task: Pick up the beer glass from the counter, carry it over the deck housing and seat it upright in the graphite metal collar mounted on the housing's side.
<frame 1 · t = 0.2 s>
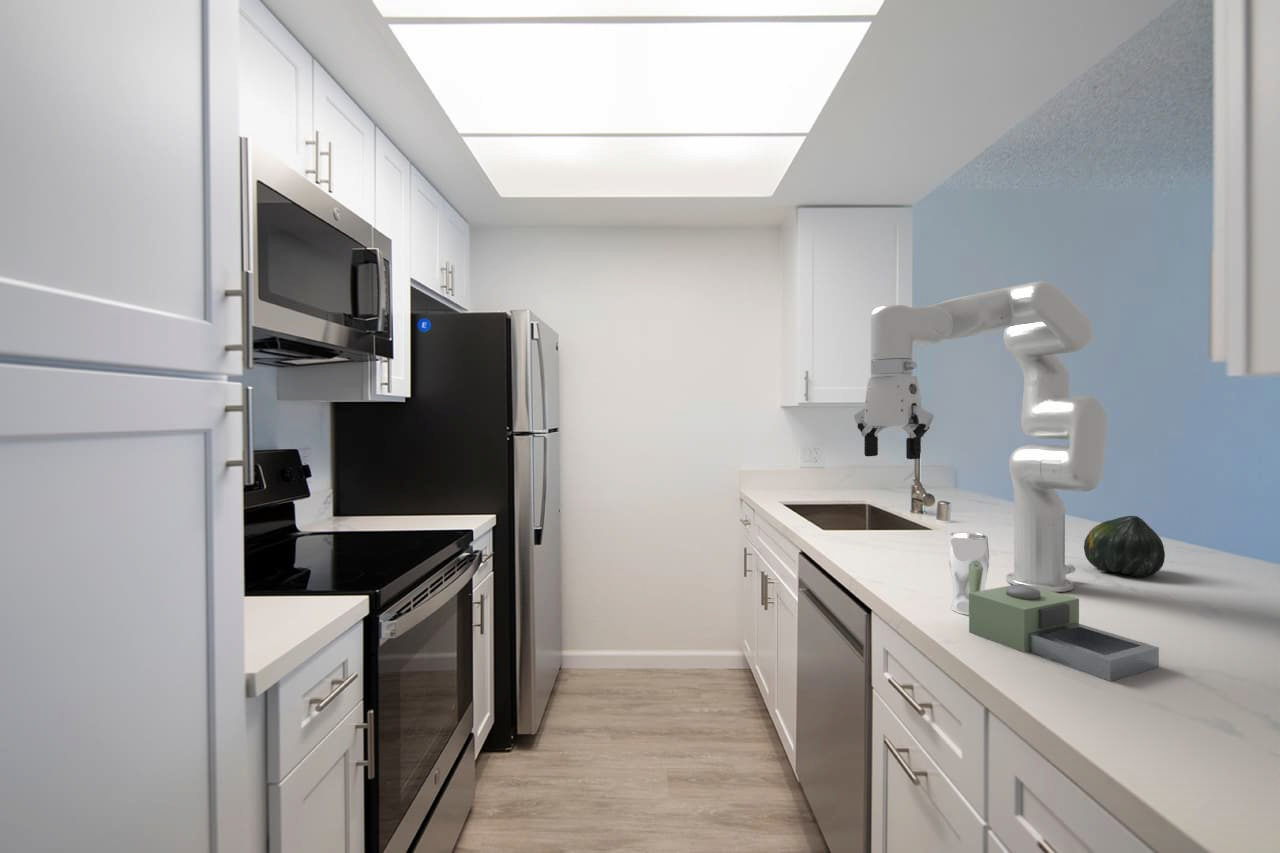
hand: (891, 457, 116), 31 cm above the worktop, tool pointing down, fingers open, 9 cm apart
chute collar: (1091, 658, 94), on the worktop
squash: (1124, 573, 143), on the worktop
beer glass: (968, 611, 117), on the worktop
deck housing: (1023, 635, 104), on the worktop
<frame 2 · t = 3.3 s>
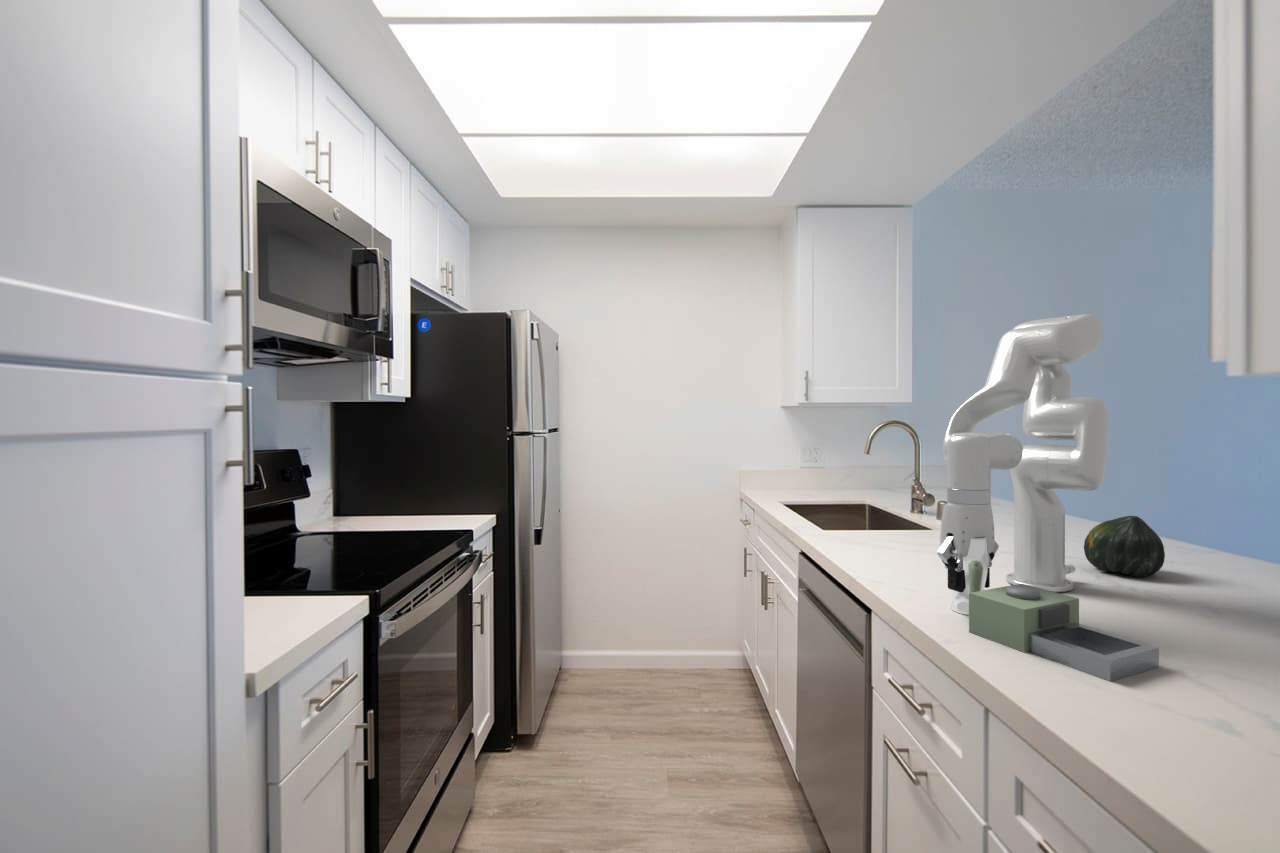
hand: (968, 587, 117), 5 cm above the worktop, tool pointing down, fingers closed on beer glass, 6 cm apart
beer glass: (968, 611, 117), on the worktop, touching gripper
everything else where it was.
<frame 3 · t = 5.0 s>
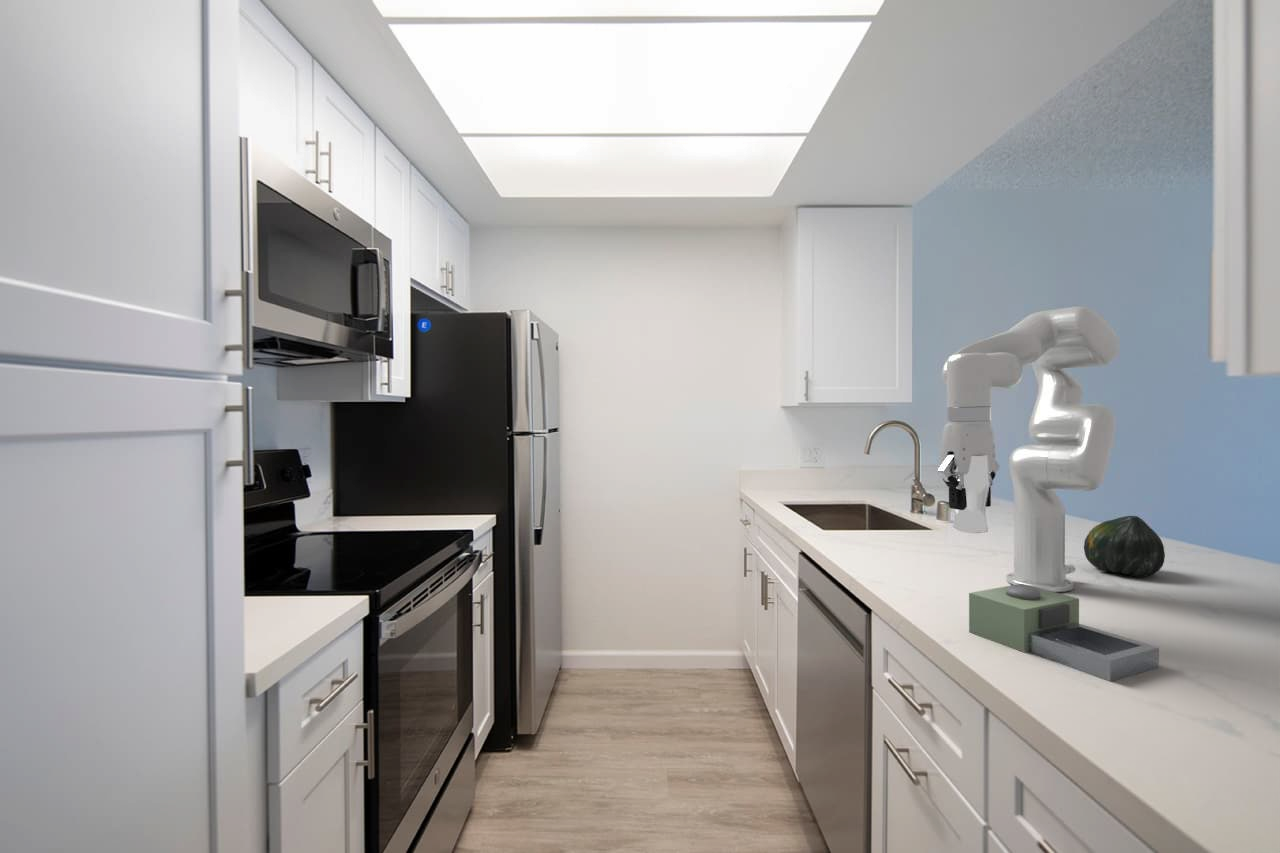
hand: (969, 506, 117), 21 cm above the worktop, tool pointing down, fingers closed on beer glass, 6 cm apart
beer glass: (970, 531, 117), point 16 cm above the worktop, touching gripper
everything else where it was.
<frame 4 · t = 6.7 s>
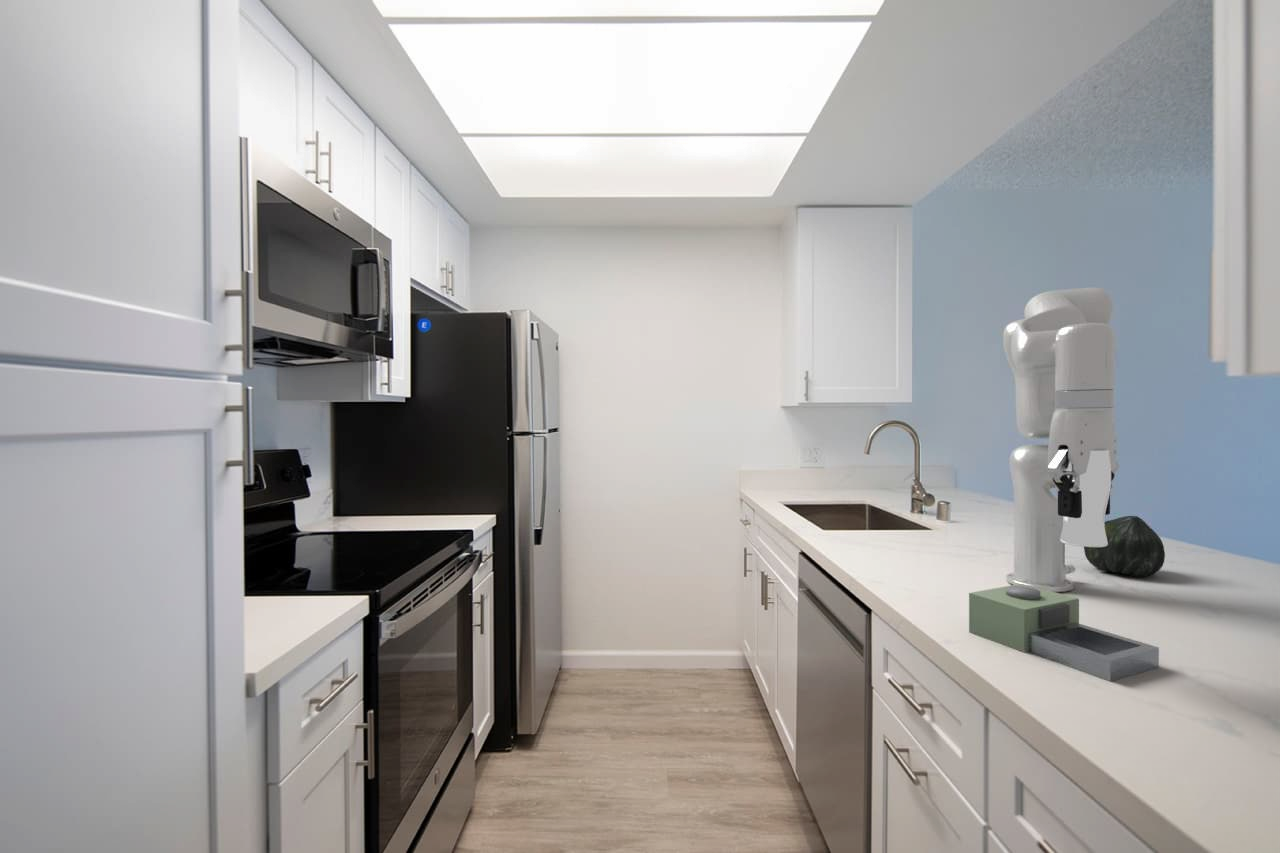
hand: (1083, 514, 95), 23 cm above the worktop, tool pointing down, fingers closed on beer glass, 6 cm apart
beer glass: (1083, 544, 95), point 18 cm above the worktop, touching gripper
everything else where it was.
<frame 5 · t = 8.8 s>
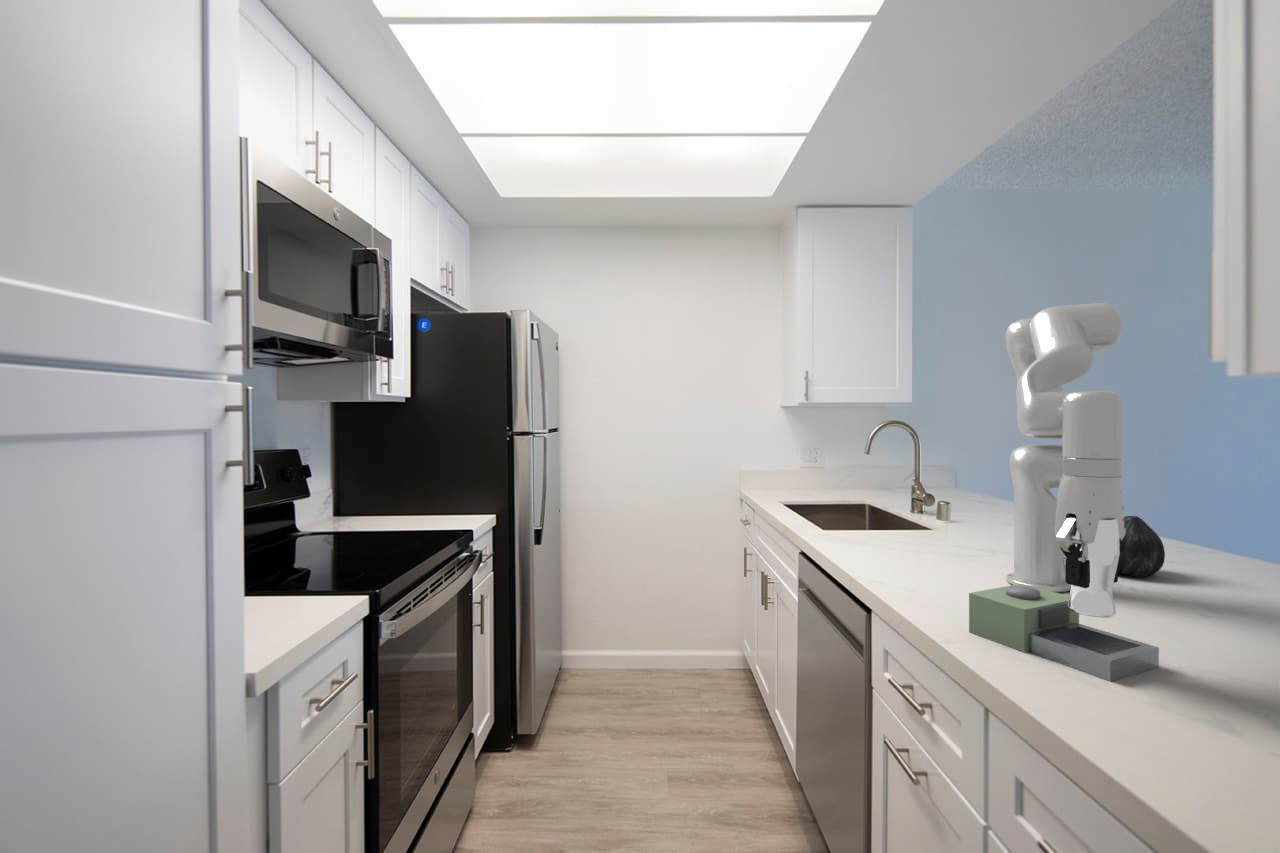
hand: (1091, 582, 94), 12 cm above the worktop, tool pointing down, fingers closed on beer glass, 6 cm apart
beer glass: (1091, 612, 94), point 7 cm above the worktop, touching gripper
everything else where it was.
when the fingers open (7 cm above the worktop, at t = 10.4 s): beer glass drops 1 cm, resting on chute collar.
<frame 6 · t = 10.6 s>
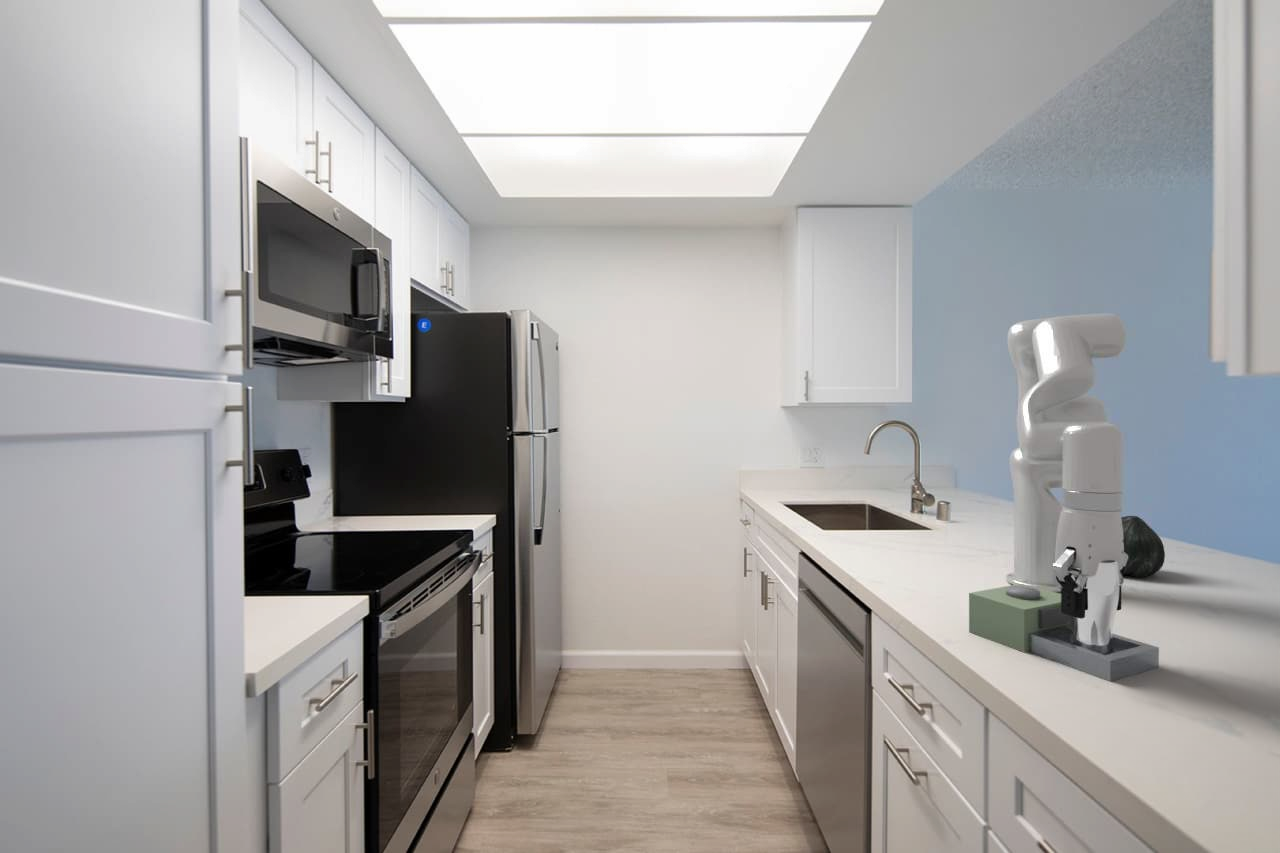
hand: (1091, 611, 94), 8 cm above the worktop, tool pointing down, fingers open, 8 cm apart
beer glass: (1090, 653, 94), point 1 cm above the worktop, touching chute collar
everything else where it was.
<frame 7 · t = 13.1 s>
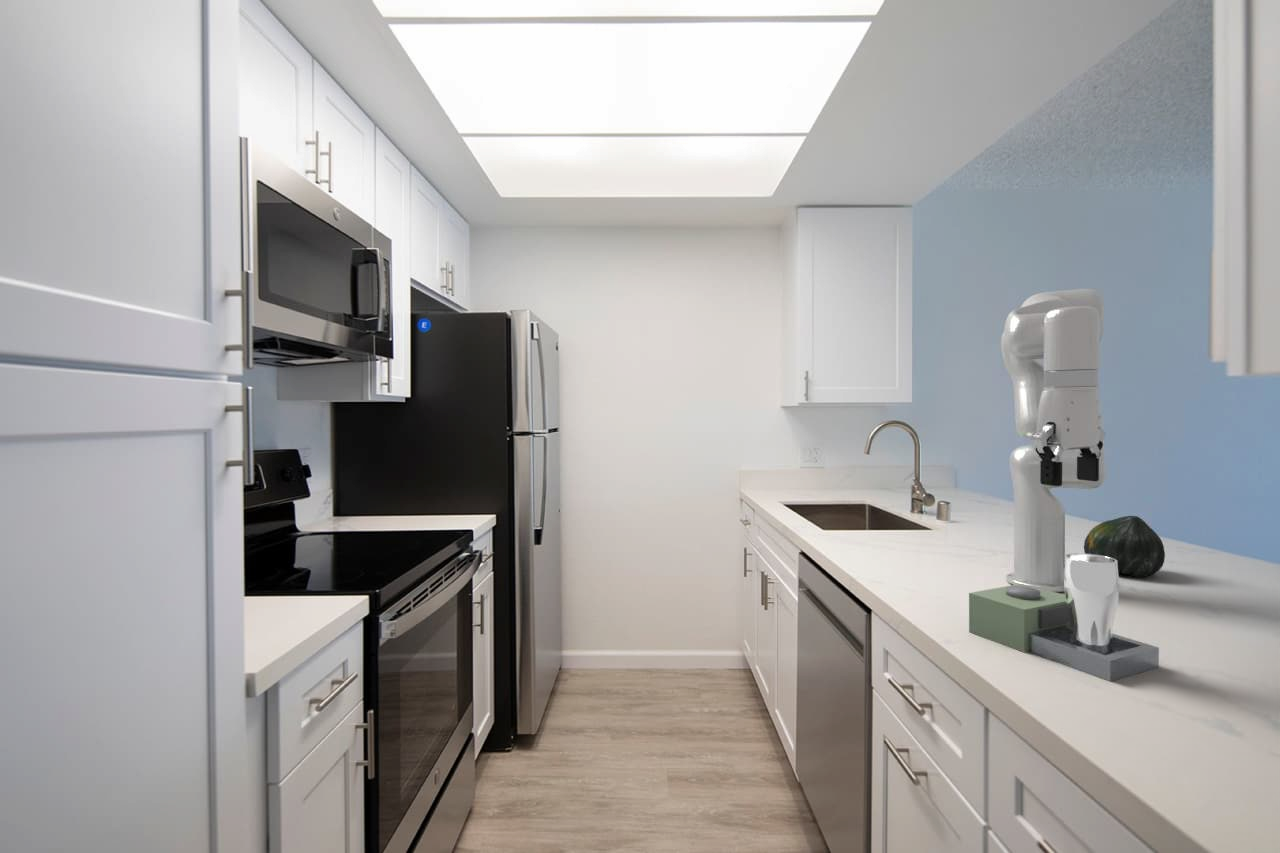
hand: (1069, 482, 101), 27 cm above the worktop, tool pointing down, fingers open, 9 cm apart
nothing on the worktop moved.
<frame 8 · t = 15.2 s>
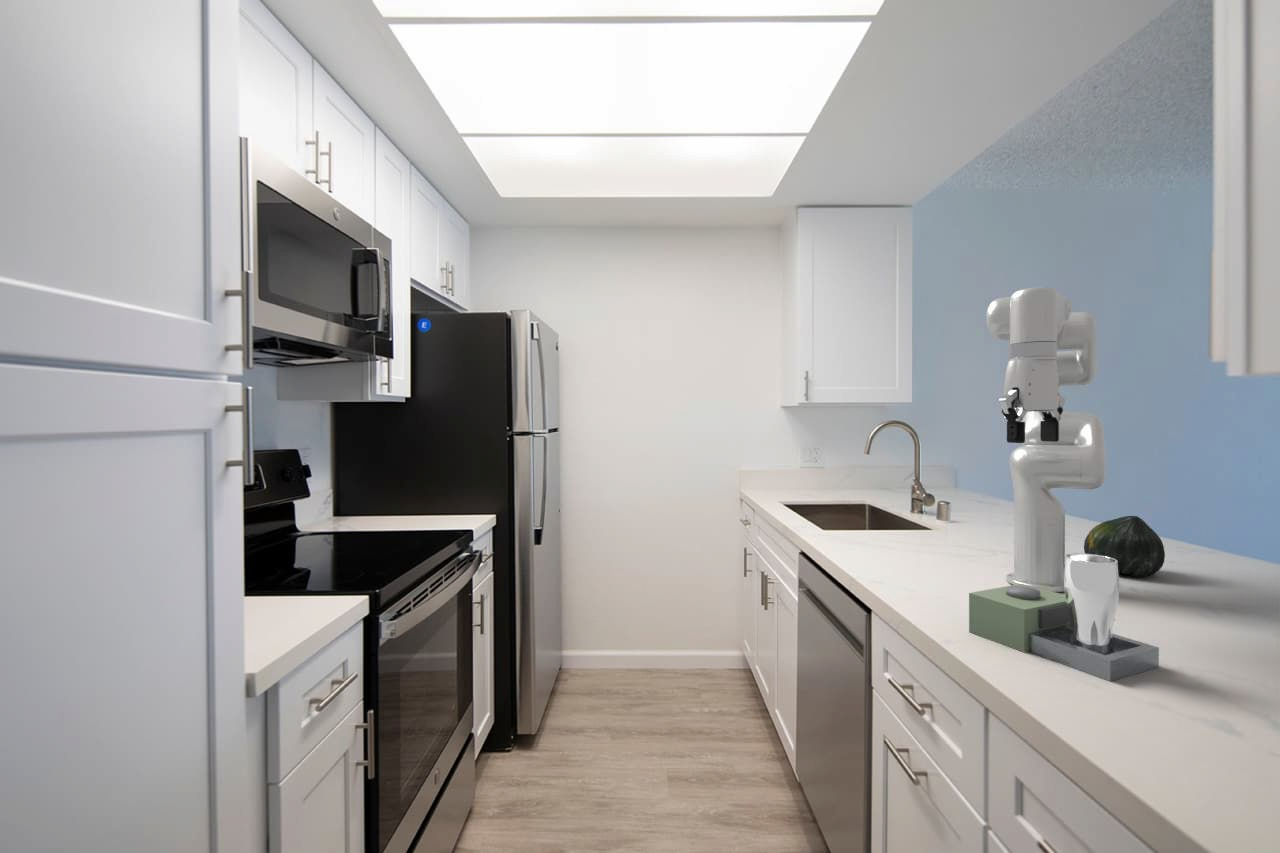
hand: (1032, 442, 115), 33 cm above the worktop, tool pointing down, fingers open, 9 cm apart
nothing on the worktop moved.
at the end: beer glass 0.1 cm off-centre on the chute collar, point 0.8 cm above the chute collar's base; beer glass tilted 0°; the gripper is holding nothing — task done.
